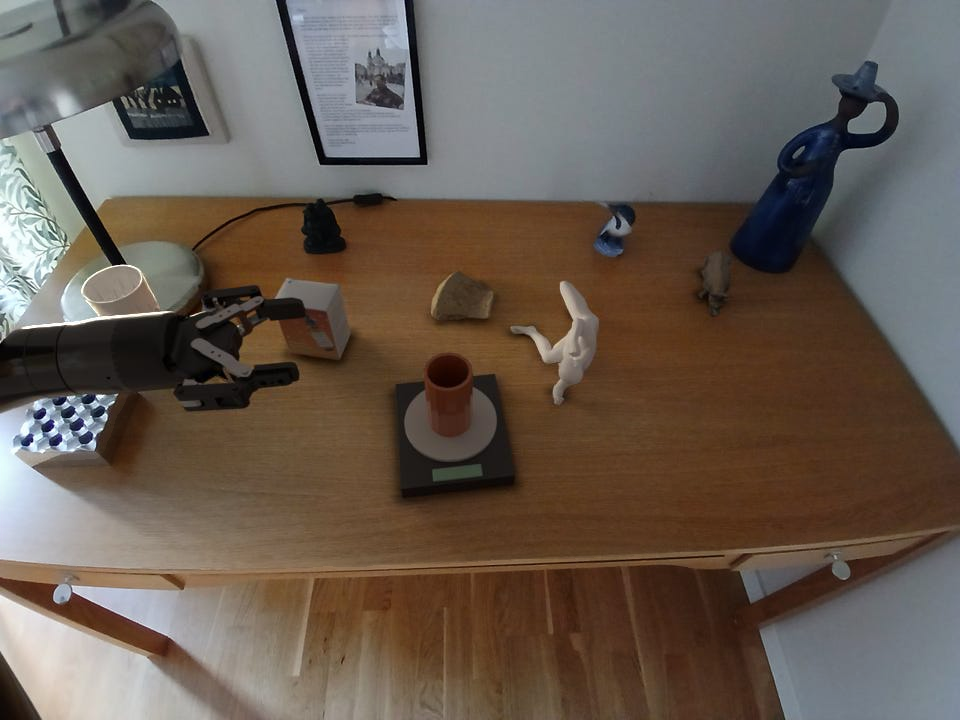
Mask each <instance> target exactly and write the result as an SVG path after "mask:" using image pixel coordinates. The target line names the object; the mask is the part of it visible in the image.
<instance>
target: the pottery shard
mask: <svg viewBox="0 0 960 720" xmlns="http://www.w3.org/2000/svg"><path fill="white" fill-rule="evenodd" d="M497 296H498V293H497V292H495V291H494V290H492V289H490V288H488V287H485V286H484V285H483V284H482V283H481V282H480V281H477V280H475V279H474V278H471V277H470V276H468V275H466V273H465V274H464V273H463V272H462V271H461V270H457V271H454V272H453V273H451V274H449V275H448V276H447V277H446V278H445V279H444V280H443V281H441V283H439V285H438V286H437V288H436V292H435V294H434V296H433V297H432V298H431V306H430V315H431V316H432V317H433V318H434V319H436V320H438V321H439V322H442V321H461V320H465V319H471V320H490V319H491V318H492V310H493V304H494V301H495V300H496V298H497Z"/></svg>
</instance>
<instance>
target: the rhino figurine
mask: <svg viewBox="0 0 960 720" xmlns="http://www.w3.org/2000/svg"><path fill="white" fill-rule="evenodd" d="M704 265H705V266H704V268H703V269H701V270H700V273H701V276H702V277H703V282H702V287H703V290H701V291H700V292H699V293H698V296H699V298H700V299H708V307H709V315H710V317H713V318H716V317H717V316H720V315H719V314H720V311H721V310H722V308H723V307H724V302H725V299H729V298H730V297H731V295H729V294H726V293H727V292H728V291H729V290H730V287H731V284H730V279H731V266H730V265H731V258H730V256H729V255H728V254H727V253H725V252H723V251H722V250H719V251H715V252H712V253H710V254H709V255H707V256H706V258H705V260H704Z"/></svg>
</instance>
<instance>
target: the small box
mask: <svg viewBox="0 0 960 720" xmlns="http://www.w3.org/2000/svg"><path fill="white" fill-rule="evenodd" d="M342 294H343V293H342V290H341V285H340V284H337V283H327V282H318V281H311V280H304V279H297V278H291V277H286V278H285V280H284V281H283V284H282V285H281V286H280V288H279V290H278V292H277V294H276V296H275V297H274V299H278V298H290V297H293V298H297V299H301V300H302V301H303V304H304V307H305V310H306V312H305V317H304V318H299V319H287V320H277V322H278V326H279V329H280V330H281V334H282V336H283V339H284V342H285V345H286V348H287V350H288V352H289V354H292V355H293V354H294V355H303V356H309V357H317V358H322V359H329V360H333V361H334V360H335V361H340V360H341V358H342V357H343V353H344V350H345V349H346V347H347V344H348V341H349V339H350V336H351V334H352V333H351V328H350V324H349V319H348V315H347V310H346V307H345V303H344V298H343V295H342Z"/></svg>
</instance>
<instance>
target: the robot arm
mask: <svg viewBox="0 0 960 720" xmlns="http://www.w3.org/2000/svg"><path fill="white" fill-rule="evenodd" d="M199 298H200V300H201V304H202V307H201V312H198V313H195V314H193V315H189V316H188V315H183V314H180V313H177V312H175V311H172V310H169V311H161V312H155V313H144V314H132V315H121V316H109V317H93V318H89V319H85V320H80V321H74V322H63V323H62V322H61V323H50V324H40V325H30V326H23V327H20V328H16V329H14V330H12V331H10V332H9V333H8V334H6V335H5V336H4V337H3V339H2V340H0V415H1V414H4V413H7V412H9V411H12V410H15V409H18V408H21V407H24V406H26V405H29V404H32V403H34V402H35V403H36V402H37V401H41V400H44V399H45V400H46V399H56V398H67V397H75V396H76V397H77V396H87V395H88V396H90V395H92V396H111V395H113V396H114V395H123V394H133V393H143V392H152V391H154V392H155V391H165V390H173V391H172V393H173V395H174V397H175V398H176V400H177V401H178V403H179V404H180V406H181V407H182V409H183V410H184V411H185V412H186V413H191V412H192V413H193V412H211V411H229V410H230V411H231V410H244V409H246V408H248V407H249V406H250V404H251V400H250V399H251V397H252V395H253V394H254V393H256V392H258V390H260V389H267V388H268V389H269V388H276V387H277V388H278V387H287V386H290V385H292V384H293V383H296V382H298V381H299V380H300V374H301V373H300V371H299V368H298V364H297V363H296V362H294V361H282V362H281V361H280V362H271V363H262V364H254V365H253V368H252V367H250V366H248V365H247V364H244V363H242V362H241V361H240V357H241V355H240V349H241V347H242V346H243V343H244V342H243V341H244V338H246V337H247V336H249V335H250V334H252V332H253V330H254V328H255V327H257V326H258V325H261V324H262V323H264V322H266V321H267V320H269V321H270V322H275V321H278V320H287V319H299V318H304V317H305V312H306V310H305V307H304V304H303V301H302V300H301V299H297V298H293V297H290V298H278V299H275V298H265V297H264V296H263V294H262V291H261V288H260V286H259V285H258V284H251V285H243V286H236V287H226V288H220V289H218V288H217V289H210V290H205V291H202V292H200V294H199ZM241 298H250V299H246V300H242V299H241ZM252 312H255V313H254V314H251V313H252ZM249 314H251V315H249ZM248 315H249V316H248ZM233 319H235V320H236V321H237V323H238V324H236V323H234V322H233V321H231V320H233ZM214 378H218V379H219V380H221V381H223V382H221V383H207V382H209V381H210V380H212V379H214ZM0 720H43V717H41V715H40V713H39V711H38V710H37V708H36V706H35V704H34V703H33V701H32V700H31V698H30V697H29V695H28V694H27V691H26V690H25V689H24V687H23V684H21V682H20V680H19V679H18V677H17V676H16V674H15V672H14V670H13V669H12V668H11V666H10V664H9V663H8V661H7V660H6V658H5V656H4V655H3V653H2V651H1V650H0Z"/></svg>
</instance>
